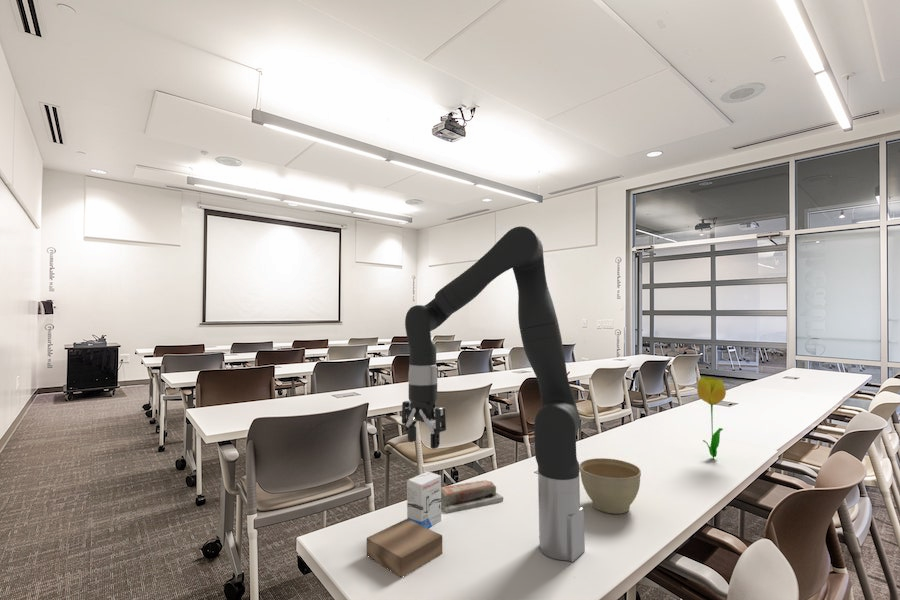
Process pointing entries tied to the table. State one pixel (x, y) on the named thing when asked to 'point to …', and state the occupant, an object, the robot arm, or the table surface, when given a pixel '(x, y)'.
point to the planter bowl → (610, 483)
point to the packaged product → (469, 495)
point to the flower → (712, 394)
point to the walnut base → (404, 547)
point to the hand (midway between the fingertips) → (423, 444)
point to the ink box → (424, 499)
